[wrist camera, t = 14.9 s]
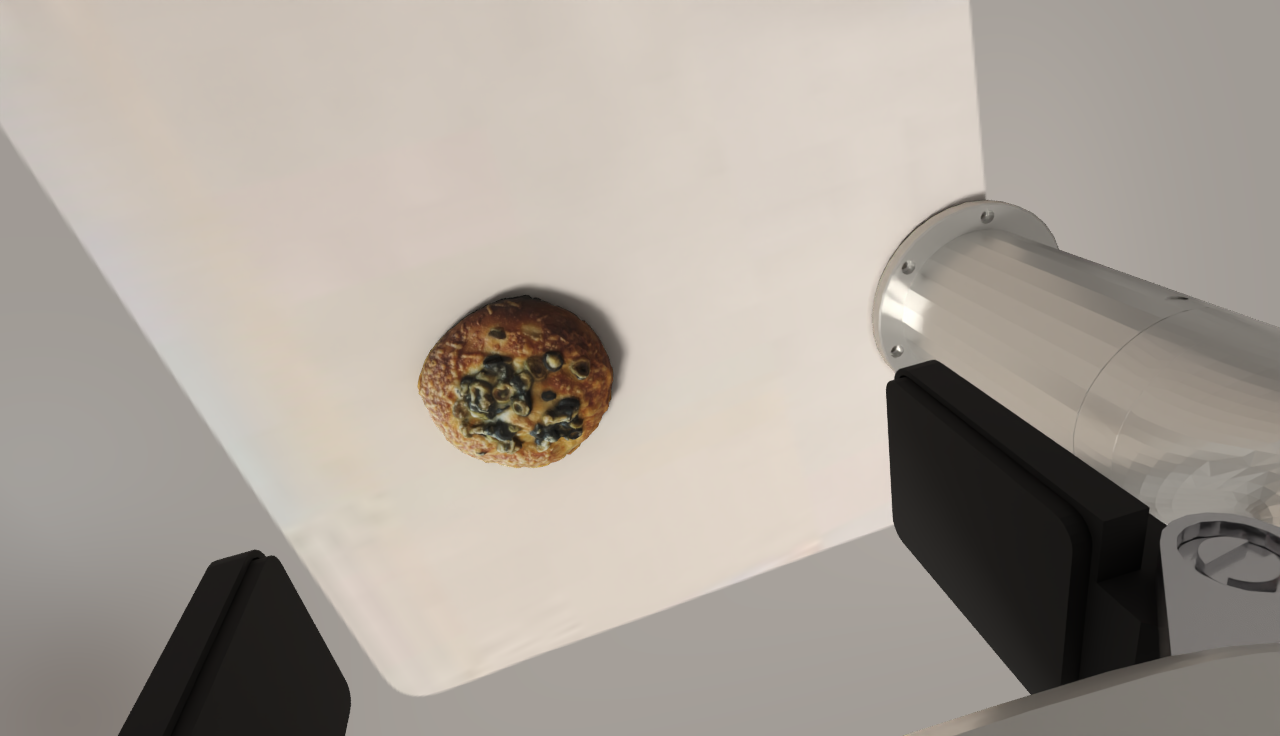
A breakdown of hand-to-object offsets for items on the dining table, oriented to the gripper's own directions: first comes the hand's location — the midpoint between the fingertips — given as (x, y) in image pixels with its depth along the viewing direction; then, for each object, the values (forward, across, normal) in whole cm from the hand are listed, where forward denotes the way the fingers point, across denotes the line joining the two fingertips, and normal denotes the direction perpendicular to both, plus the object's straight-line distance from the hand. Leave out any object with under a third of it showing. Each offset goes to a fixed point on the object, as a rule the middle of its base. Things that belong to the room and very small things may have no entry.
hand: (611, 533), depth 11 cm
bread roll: (+31, +3, +11) cm, 33 cm away
